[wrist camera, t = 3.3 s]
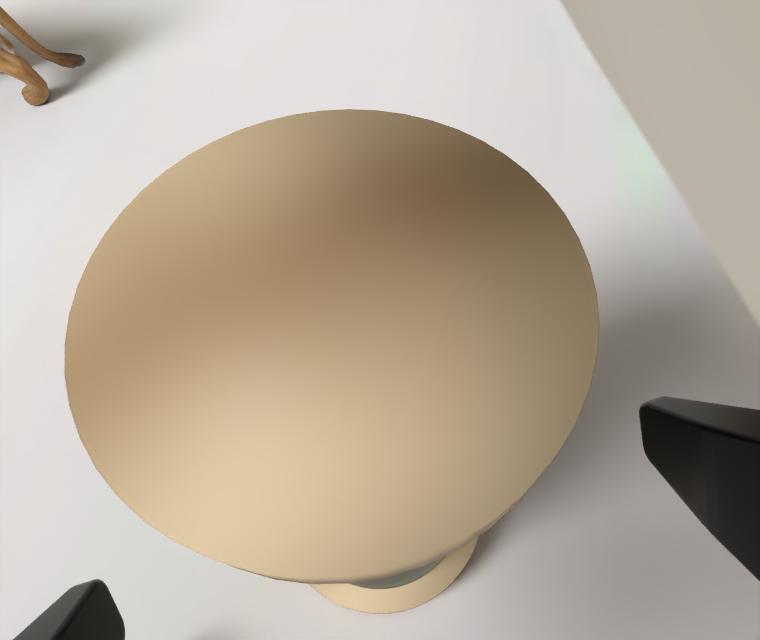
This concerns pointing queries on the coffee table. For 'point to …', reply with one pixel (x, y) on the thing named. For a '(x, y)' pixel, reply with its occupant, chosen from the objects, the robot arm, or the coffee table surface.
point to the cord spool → (333, 350)
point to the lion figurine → (6, 61)
